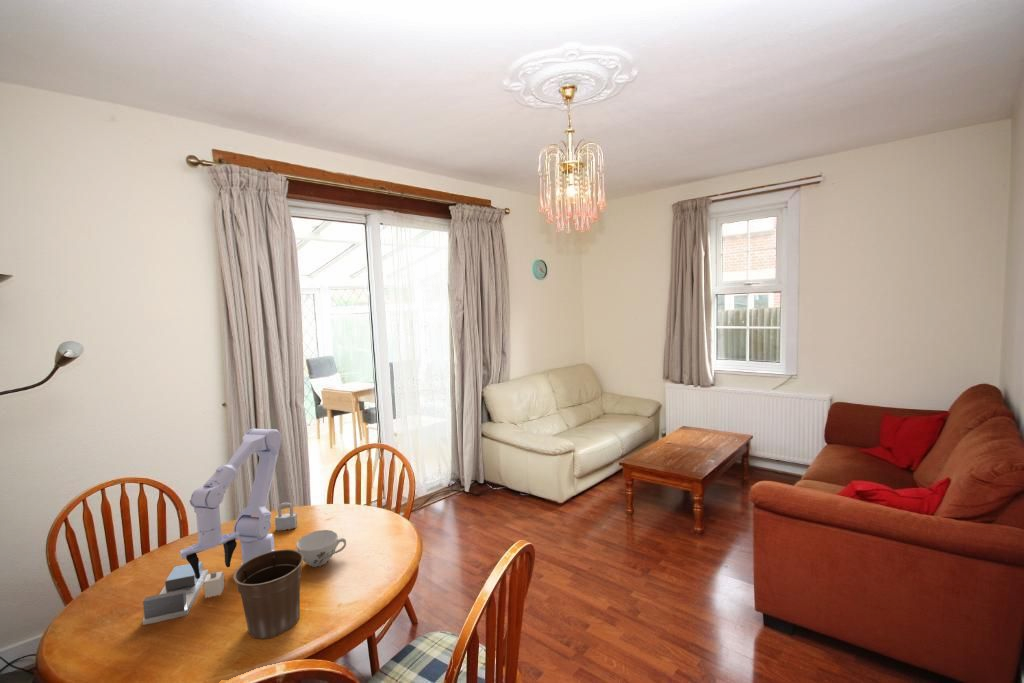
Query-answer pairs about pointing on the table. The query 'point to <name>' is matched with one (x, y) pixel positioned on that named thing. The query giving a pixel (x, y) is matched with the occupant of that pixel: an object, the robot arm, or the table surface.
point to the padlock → (285, 518)
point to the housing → (214, 584)
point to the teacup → (319, 547)
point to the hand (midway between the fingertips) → (212, 571)
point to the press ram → (182, 576)
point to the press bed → (189, 599)
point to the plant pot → (270, 591)
